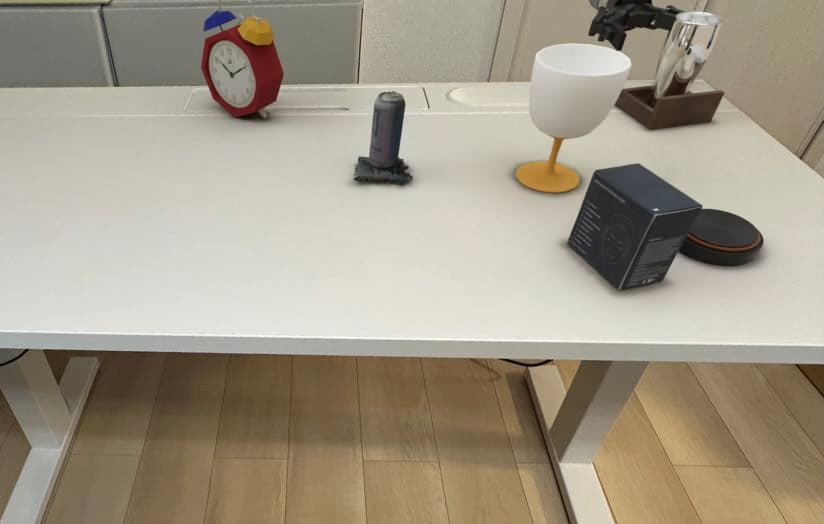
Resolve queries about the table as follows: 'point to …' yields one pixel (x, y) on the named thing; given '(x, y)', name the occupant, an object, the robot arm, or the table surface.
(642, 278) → the box
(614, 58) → the cup
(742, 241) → the hot plate
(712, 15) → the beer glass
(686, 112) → the wooden tray
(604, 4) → the robot arm
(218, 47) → the alarm clock
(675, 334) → the table surface
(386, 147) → the beverage can
